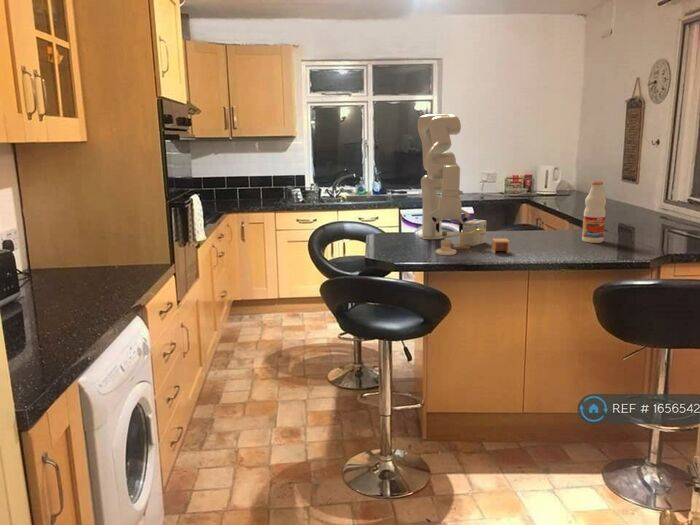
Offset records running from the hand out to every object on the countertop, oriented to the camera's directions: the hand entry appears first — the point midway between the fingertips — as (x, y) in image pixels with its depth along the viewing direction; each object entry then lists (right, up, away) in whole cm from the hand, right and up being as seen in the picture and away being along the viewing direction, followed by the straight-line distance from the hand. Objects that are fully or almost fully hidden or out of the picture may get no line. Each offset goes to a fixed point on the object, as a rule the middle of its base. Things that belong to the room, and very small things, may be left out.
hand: (449, 231), depth 257 cm
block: (-1, -8, 0) cm, 8 cm away
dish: (-2, -9, -1) cm, 10 cm away
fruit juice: (+71, -4, +18) cm, 74 cm away
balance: (+7, -7, +9) cm, 14 cm away
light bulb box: (+15, -5, +19) cm, 24 cm away
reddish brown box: (+23, -9, 0) cm, 24 cm away
